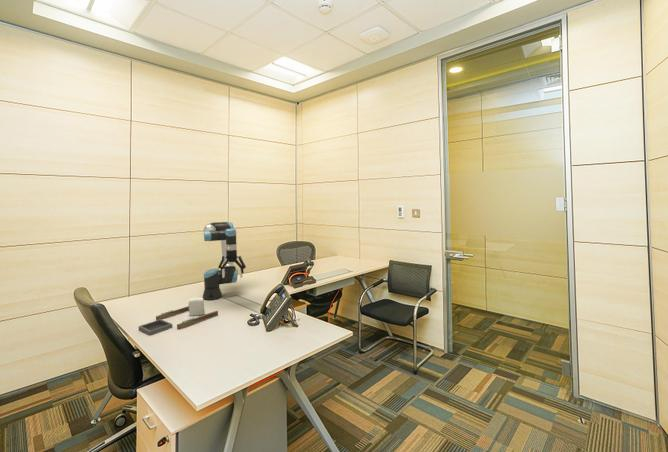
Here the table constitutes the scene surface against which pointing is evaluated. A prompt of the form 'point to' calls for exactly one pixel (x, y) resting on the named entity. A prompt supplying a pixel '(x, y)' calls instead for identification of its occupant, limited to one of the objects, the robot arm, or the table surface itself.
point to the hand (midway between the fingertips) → (232, 277)
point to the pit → (155, 327)
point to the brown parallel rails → (189, 321)
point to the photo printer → (196, 306)
